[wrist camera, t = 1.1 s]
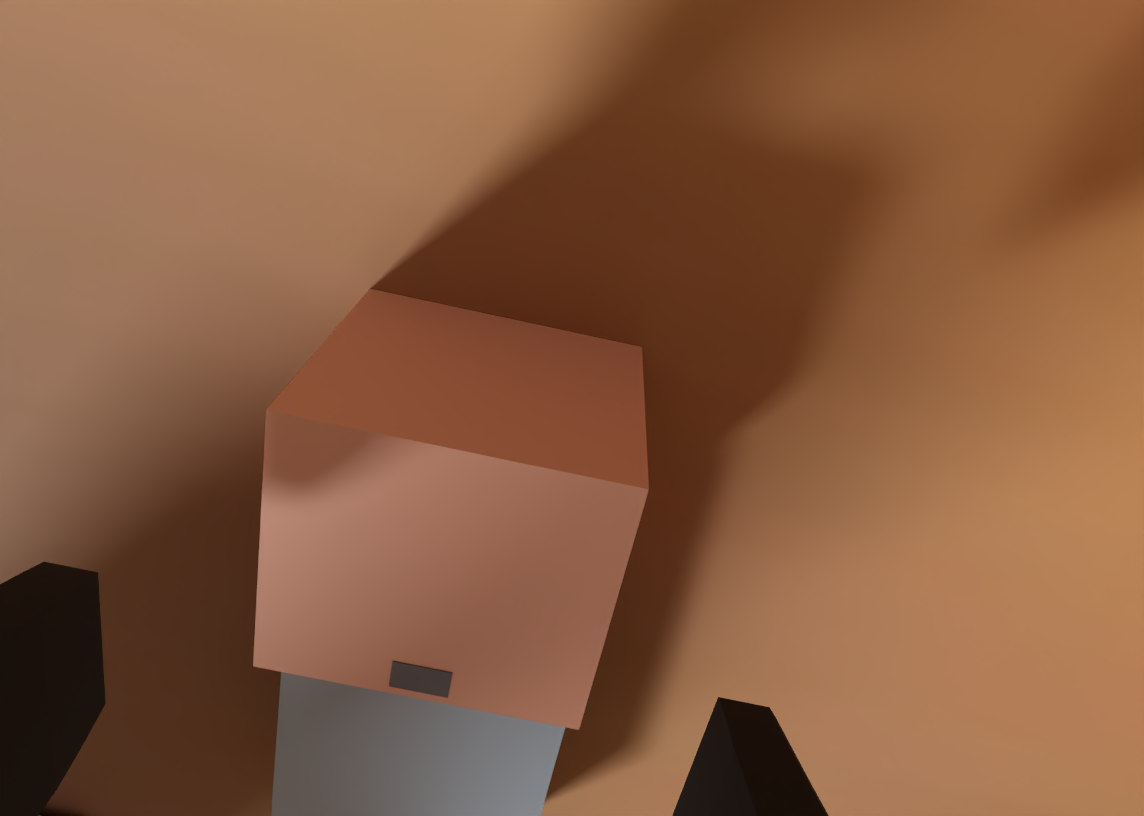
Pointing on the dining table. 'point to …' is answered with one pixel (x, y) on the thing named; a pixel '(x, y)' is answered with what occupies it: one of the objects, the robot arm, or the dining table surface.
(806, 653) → the dining table surface
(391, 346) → the stub
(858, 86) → the dining table surface
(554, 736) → the slotted gray housing
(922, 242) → the dining table surface
